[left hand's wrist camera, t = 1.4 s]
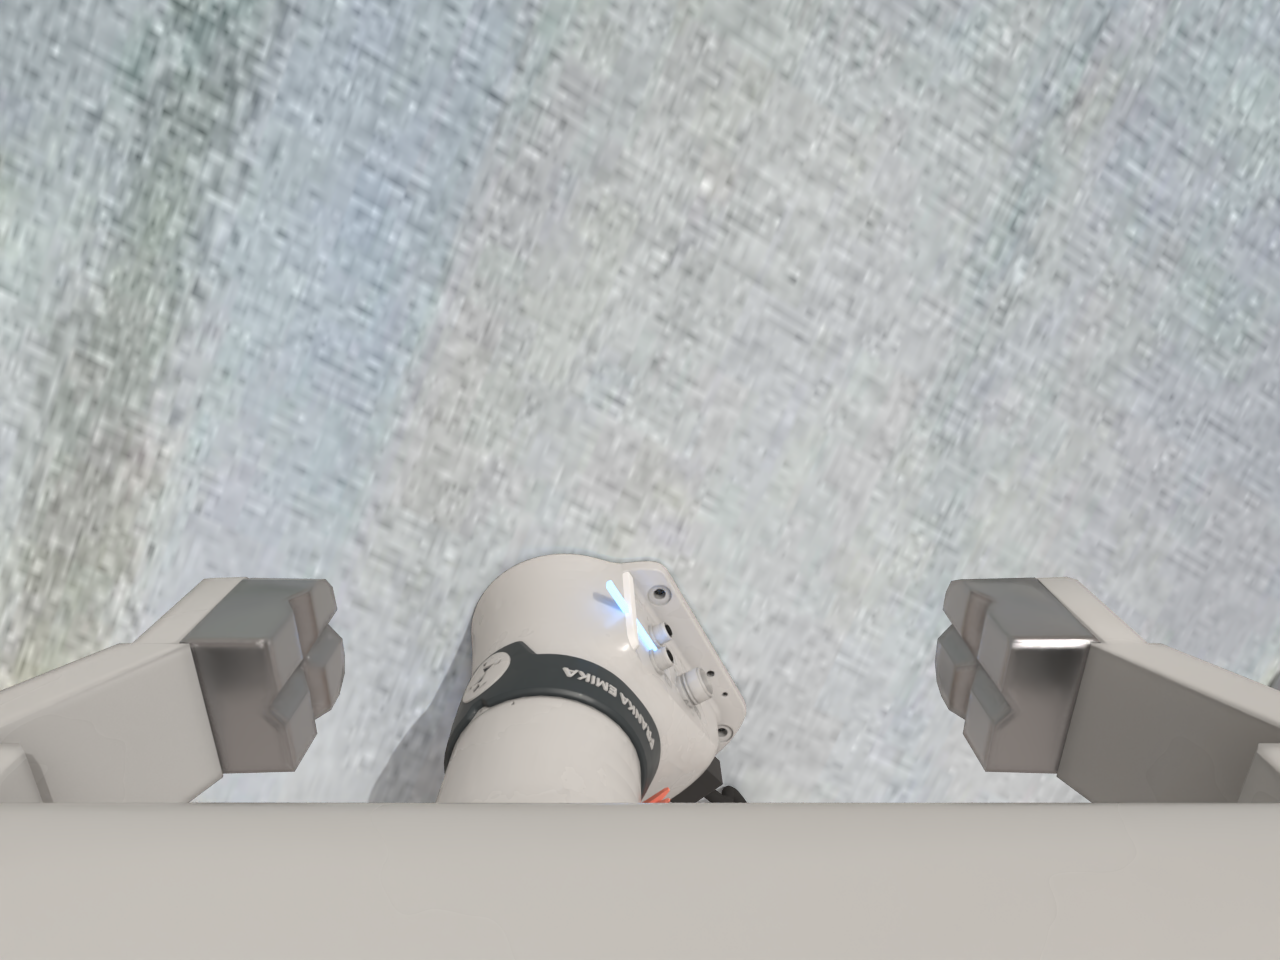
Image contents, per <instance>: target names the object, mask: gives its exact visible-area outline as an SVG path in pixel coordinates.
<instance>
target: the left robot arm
mask: <svg viewBox="0 0 1280 960" xmlns="http://www.w3.org/2000/svg"><path fill="white" fill-rule="evenodd" d="M657 589H662V590H664V591H665V592H664V593H663V594H656V593H655V592H654V591H655V590H657ZM336 611H337V606H336V601H335V596H334V591H333V587H332V586H331V585H330V584H329V583H328V581H327V580H326V579H289V578H247V577H227V578H208V579H203V580H202V581H201V582H200V583H199V584H198V585H197V586H196V587H194V588H193V589H192V590H191V591H190V592H189V593H188V594H187V595H185V596H184V597H183V598H182V599H181V600H180V601H179V602H178V603H177V604H175V605H174V606H173V607H172V608H171V609H170V610H169V611H168V612H167V613H165V614H164V615H163V616H162V617H161V618H160V619H159V620H158V621H156V622H155V623H154V624H153V625H152V626H151V627H150V628H149V629H148V630H146V631H145V632H144V633H143V634H142V635H141V636H140V637H139V638H138V639H136V640H135V641H134V642H133V643H119V644H117V645H114V646H112V647H109V648H107V649H104V650H102V651H99V652H97V653H94V654H92V655H89V656H87V657H84V658H82V659H79V660H76V661H74V662H71V663H69V664H66V665H64V666H61V667H59V668H56V669H54V670H51V671H49V672H46V673H44V674H41V675H39V676H36V677H34V678H31V679H29V680H26V681H24V682H21V683H19V684H16V685H14V686H11V687H9V688H6V689H4V690H1V691H0V960H1280V691H1278V690H1276V689H1273V688H1271V687H1268V686H1266V685H1263V684H1261V683H1258V682H1256V681H1253V680H1251V679H1248V678H1246V677H1243V676H1241V675H1238V674H1236V673H1233V672H1231V671H1228V670H1226V669H1223V668H1221V667H1218V666H1216V665H1213V664H1211V663H1208V662H1206V661H1203V660H1201V659H1198V658H1196V657H1193V656H1191V655H1188V654H1186V653H1183V652H1181V651H1178V650H1176V649H1173V648H1171V647H1168V646H1166V645H1163V644H1161V643H1147V642H1146V641H1145V640H1144V639H1143V638H1141V637H1140V636H1139V635H1138V634H1137V633H1136V632H1135V631H1134V630H1133V629H1131V628H1130V627H1129V626H1128V625H1127V624H1126V623H1125V622H1124V621H1123V620H1121V619H1120V618H1119V617H1118V616H1117V615H1116V614H1115V613H1114V612H1113V611H1111V610H1110V609H1109V608H1108V607H1107V606H1106V605H1105V604H1104V603H1103V602H1101V601H1100V600H1099V599H1098V598H1097V597H1096V596H1095V595H1094V594H1093V593H1091V592H1090V591H1089V590H1088V589H1087V588H1086V587H1085V586H1084V585H1083V584H1081V583H1080V582H1079V581H1078V580H1076V579H1073V578H1069V577H1051V578H998V579H960V580H954V581H951V583H950V585H949V587H948V589H947V591H946V594H945V600H944V605H943V611H944V612H945V614H946V615H947V617H948V618H949V620H950V622H951V623H952V625H951V626H950V627H949V628H948V629H947V630H946V631H945V632H944V633H943V634H942V635H941V636H940V637H939V638H938V641H937V648H936V656H935V668H936V679H937V684H938V687H939V690H940V693H941V696H942V698H943V700H944V702H945V704H946V705H947V707H948V709H949V710H950V711H952V712H953V713H955V714H957V715H958V716H960V717H961V718H963V719H965V725H964V730H963V735H964V736H965V738H966V740H967V741H968V743H969V745H970V746H971V748H972V750H973V751H974V753H975V755H976V757H977V758H978V760H979V762H980V763H981V765H982V767H983V768H984V770H985V772H1020V773H1057V777H1058V778H1059V779H1061V780H1062V781H1063V782H1065V783H1066V784H1067V785H1069V786H1070V787H1071V788H1073V789H1074V790H1075V791H1077V792H1078V793H1079V794H1081V795H1082V796H1083V797H1085V798H1086V799H1088V800H1089V801H1090V802H1092V803H747V802H746V801H745V799H744V798H743V797H742V795H741V794H740V793H739V792H738V791H737V790H736V789H735V788H733V787H731V786H726V787H724V788H723V790H722V794H720V793H719V792H717V791H716V790H715V789H717V788H718V787H719V786H721V785H722V784H723V782H722V775H721V768H720V761H719V760H718V759H717V758H716V757H715V755H716V754H717V753H718V752H719V751H721V750H722V749H723V748H724V747H725V746H726V745H727V744H728V743H729V742H730V740H731V739H732V738H733V737H734V735H735V734H736V733H737V731H738V730H739V728H740V726H741V725H742V723H743V720H744V718H745V716H746V703H745V701H744V698H743V697H742V695H741V693H740V691H739V690H738V688H737V686H736V685H735V683H734V681H733V679H732V678H731V676H730V674H729V673H728V671H727V669H726V668H725V666H724V664H723V663H722V661H721V659H720V658H719V656H718V654H717V652H716V651H715V649H714V647H713V646H712V644H711V642H710V641H709V639H708V637H707V636H706V634H705V632H704V631H703V629H702V627H701V625H700V624H699V622H698V620H697V619H696V617H695V615H694V614H693V612H692V610H691V609H690V607H689V605H688V604H687V602H686V600H685V598H684V597H683V595H682V593H681V592H680V590H679V588H678V587H677V585H676V583H675V582H674V580H673V578H672V577H671V575H670V573H669V572H668V570H667V569H666V567H665V566H663V565H662V564H660V563H658V562H653V561H638V562H628V563H614V562H609V561H605V560H602V559H598V558H594V557H590V556H585V555H579V554H551V555H544V556H539V557H536V558H532V559H529V560H526V561H524V562H521V563H519V564H517V565H515V566H513V567H511V568H510V569H508V570H507V571H505V572H504V573H502V574H501V575H500V576H499V577H497V578H496V579H495V580H494V581H493V582H492V583H491V584H490V585H489V587H488V588H487V589H486V590H485V592H484V593H483V595H482V596H481V598H480V600H479V602H478V604H477V606H476V609H475V611H474V615H473V619H472V626H471V641H472V675H471V679H470V682H469V684H468V686H467V688H466V690H465V692H464V695H463V697H462V700H461V702H460V705H459V708H458V711H457V714H456V717H455V720H454V723H453V726H452V730H451V733H450V737H449V740H448V744H447V748H446V752H445V759H444V771H445V776H444V779H443V782H442V785H441V788H440V791H439V794H438V797H437V800H436V803H189V802H190V801H191V800H193V799H194V798H195V797H197V796H198V795H200V794H201V793H202V792H204V791H205V790H206V789H208V788H209V787H210V786H212V785H213V784H214V783H216V782H217V781H218V780H220V779H221V778H222V777H223V773H259V772H295V770H296V768H297V767H298V765H299V763H300V762H301V760H302V758H303V757H304V755H305V753H306V752H307V750H308V748H309V747H310V745H311V743H312V741H313V740H314V738H315V736H316V735H317V730H316V724H315V719H317V718H319V717H320V716H322V715H323V714H325V713H327V712H328V711H330V710H331V709H332V707H333V705H334V704H335V702H336V700H337V698H338V696H339V694H340V690H341V686H342V682H343V678H344V674H345V653H344V647H343V640H342V638H341V637H340V636H339V635H338V634H337V633H336V632H335V631H334V630H333V629H332V628H331V627H330V626H329V625H328V623H329V622H330V620H331V619H332V617H333V615H334V614H335V612H336ZM720 728H724V729H725V730H723V731H718V729H720ZM703 797H705V798H706V799H707V800H709V801H710V802H711V803H696V802H697V801H699V800H700V799H702V798H703ZM670 801H671V802H672V803H669V802H670Z"/></svg>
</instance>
